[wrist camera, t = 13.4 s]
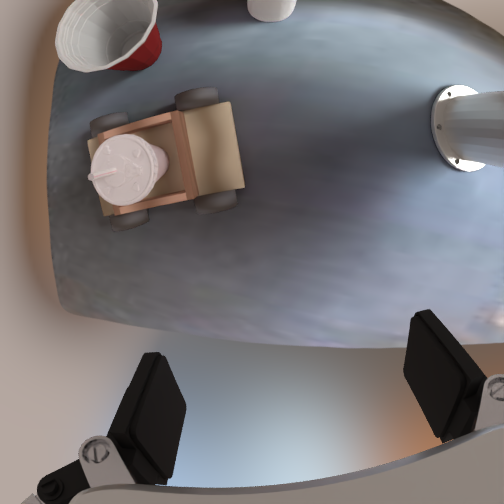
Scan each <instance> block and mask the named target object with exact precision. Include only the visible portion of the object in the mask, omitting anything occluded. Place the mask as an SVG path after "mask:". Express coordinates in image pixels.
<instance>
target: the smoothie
mask: <svg viewBox="0 0 504 504" xmlns="http://www.w3.org/2000/svg"><path fill="white" fill-rule="evenodd" d="M169 164H170V160H169V156H168V154H167V152H166V151H165V150H164V149H162V148H160V147H157V146H154V145H152V144H149V143H147V142H146V141H145V140H144V139H142V138H141V137H138V136H136V135H131V134H122V135H116V136H113V137H111V138H109V139H107V140H106V141H104V142H103V143H102V144H101V145H100V146H99V148H98V149H97V150H96V152H95V154H94V156H93V159H92V163H91V173H90V174H89V175H88V179H89V180H90V181H92V182H93V185H94V187H95V189H96V191H97V192H98V194H99V195H100V196H101V197H102V198H103V199H104V200H106V201H107V202H109V203H111V204H114V205H118V206H126V205H131V204H134V203H136V202H138V201H141V200H142V199H143V198H145V197H146V196H147V195H148V194H149V193H150V191H151V190H152V189H153V187H154V184H155V182H157V181H158V180H159V179H160V178H161V177H162V176H163V175H164V174H165V173H166V172H167V170H168V168H169Z"/></svg>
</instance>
